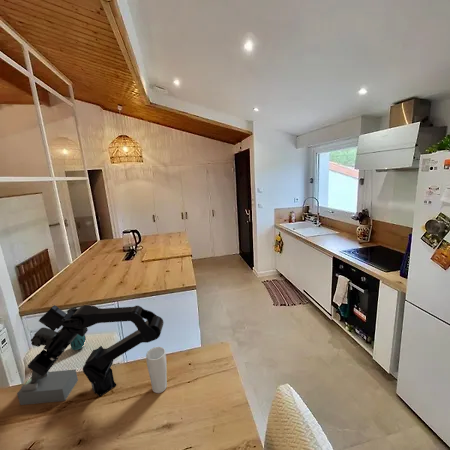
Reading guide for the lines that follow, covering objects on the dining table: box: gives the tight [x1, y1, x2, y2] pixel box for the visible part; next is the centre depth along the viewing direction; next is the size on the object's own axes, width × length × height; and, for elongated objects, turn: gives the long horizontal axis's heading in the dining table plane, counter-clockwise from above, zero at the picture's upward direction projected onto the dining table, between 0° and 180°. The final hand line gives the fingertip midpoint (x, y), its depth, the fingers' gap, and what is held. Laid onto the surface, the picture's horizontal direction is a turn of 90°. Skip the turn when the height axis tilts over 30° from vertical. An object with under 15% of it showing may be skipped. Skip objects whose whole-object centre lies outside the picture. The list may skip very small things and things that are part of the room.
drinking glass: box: [145, 346, 168, 394], centre depth 91 cm, size 7×7×15 cm
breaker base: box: [16, 368, 79, 406], centre depth 92 cm, size 16×9×6 cm, turn 93°
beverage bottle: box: [66, 307, 87, 351], centre depth 114 cm, size 6×7×20 cm
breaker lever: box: [29, 369, 40, 384], centre depth 91 cm, size 2×3×8 cm
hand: (40, 365), depth 91 cm, fingers closed, pressing on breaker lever
